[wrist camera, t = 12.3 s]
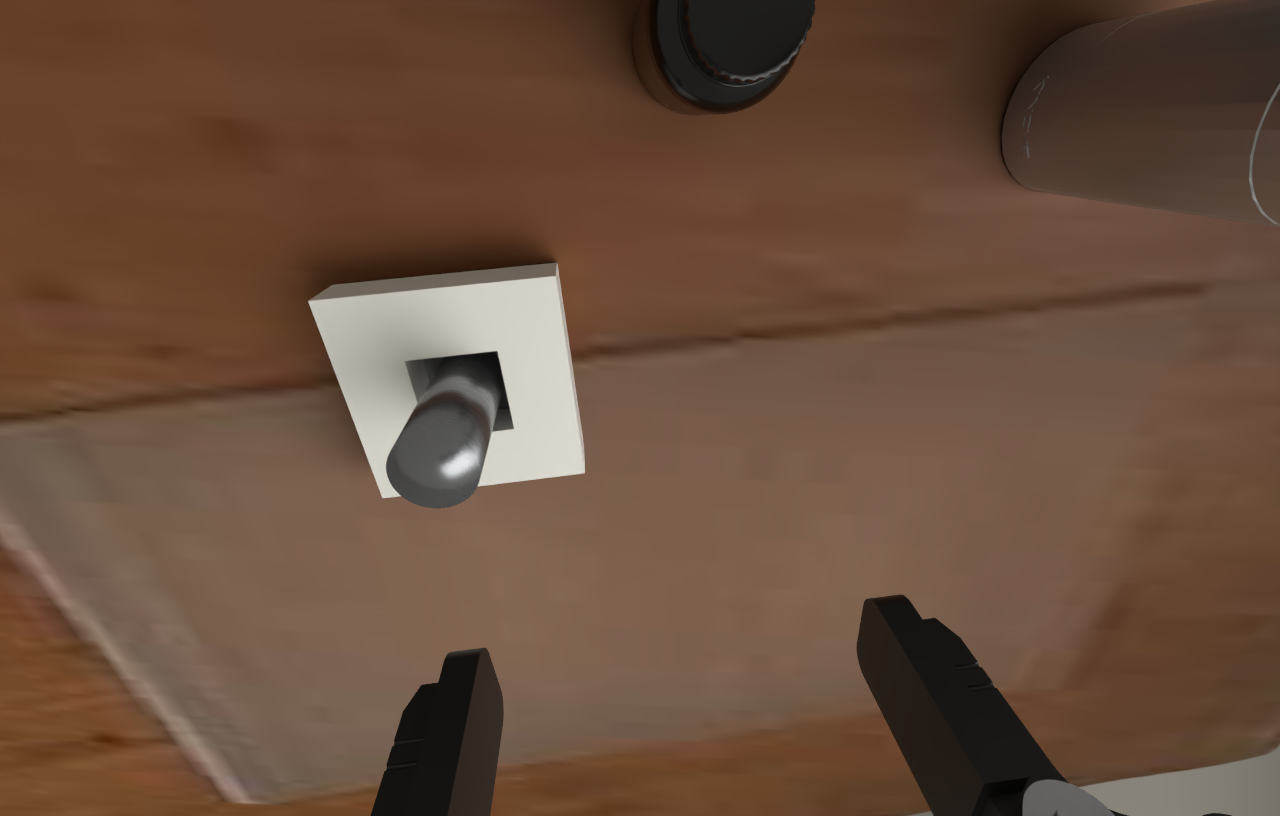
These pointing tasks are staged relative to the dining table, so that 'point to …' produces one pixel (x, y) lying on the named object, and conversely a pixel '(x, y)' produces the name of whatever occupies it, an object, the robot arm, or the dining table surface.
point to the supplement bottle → (717, 50)
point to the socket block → (456, 325)
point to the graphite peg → (448, 432)
